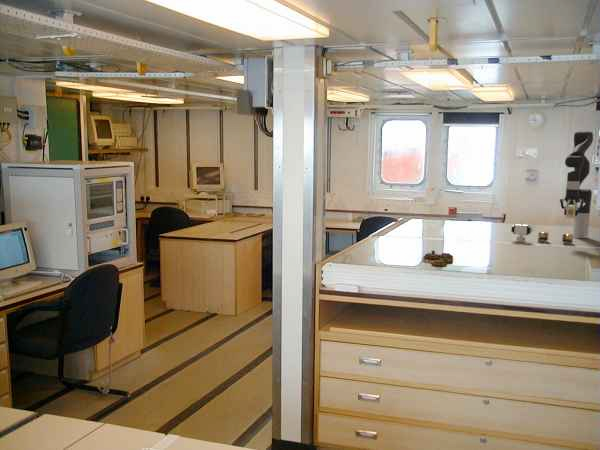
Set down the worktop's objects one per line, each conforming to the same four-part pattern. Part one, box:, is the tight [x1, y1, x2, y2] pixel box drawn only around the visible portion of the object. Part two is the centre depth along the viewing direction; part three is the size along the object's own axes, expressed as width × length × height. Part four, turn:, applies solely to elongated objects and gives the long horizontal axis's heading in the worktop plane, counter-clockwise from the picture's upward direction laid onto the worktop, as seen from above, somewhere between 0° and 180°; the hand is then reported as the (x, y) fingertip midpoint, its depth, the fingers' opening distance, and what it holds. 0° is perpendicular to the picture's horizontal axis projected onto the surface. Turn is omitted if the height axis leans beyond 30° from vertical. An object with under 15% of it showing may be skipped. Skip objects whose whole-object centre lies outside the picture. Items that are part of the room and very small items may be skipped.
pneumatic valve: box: [510, 223, 533, 243], centre depth 397 cm, size 6×12×12 cm, turn 57°
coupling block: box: [565, 205, 576, 219], centre depth 379 cm, size 7×5×7 cm
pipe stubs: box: [537, 230, 574, 246], centre depth 393 cm, size 6×20×7 cm, turn 61°
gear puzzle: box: [422, 250, 454, 267], centre depth 325 cm, size 31×16×4 cm, turn 166°
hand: (570, 215), depth 379 cm, fingers closed on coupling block, 5 cm apart
